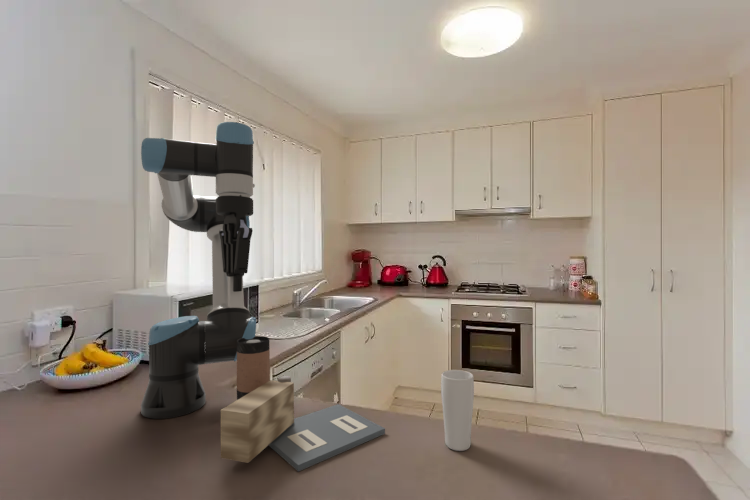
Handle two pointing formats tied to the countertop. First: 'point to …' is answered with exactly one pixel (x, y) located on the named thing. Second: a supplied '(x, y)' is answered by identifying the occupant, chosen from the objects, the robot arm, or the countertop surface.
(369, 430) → the label board
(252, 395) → the tan wooden block
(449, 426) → the drinking glass
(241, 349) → the travel mug
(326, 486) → the countertop surface
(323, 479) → the countertop surface
